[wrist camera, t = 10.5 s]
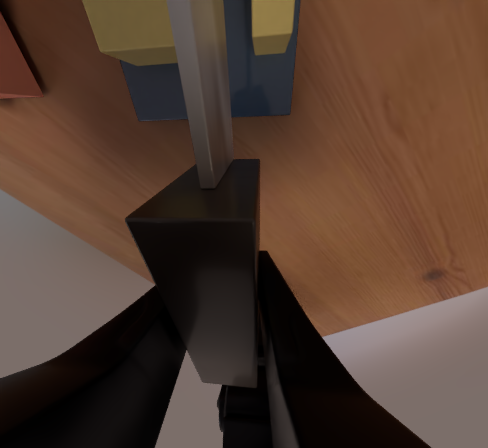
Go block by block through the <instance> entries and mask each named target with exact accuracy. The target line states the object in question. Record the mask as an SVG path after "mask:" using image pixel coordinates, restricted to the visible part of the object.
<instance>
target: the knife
mask: <svg viewBox="0 0 488 448" xmlns="http://www.w3.org/2000/svg"><path fill="white" fill-rule="evenodd" d="M166 1H167V6H168V12H169V17H170V23H171V28H172V34H173V39H174V45H175V50H176V56H177V61H178V66H179V72H180V77H181V83H182V88H183V94H184V99H185V105H186V110H187V116H188V121H189V127H190V132H191V137H192V143H193V148H194V154H195V159H196V164H195V165H194V166H193V167H191V168H190V169H189V170H187V171H186V172H185V173H183V174H182V175H181V176H180V177H178V178H177V179H176V180H174V181H173V182H172V183H170V184H169V185H168V186H166V187H165V188H164V189H163V190H161V191H160V192H159V193H157V194H156V195H155V196H153V197H152V198H151V199H149V200H148V201H147V202H146V203H144V204H143V205H142V206H140V207H139V208H138V209H136V210H135V211H134V212H132V213H131V214H130V215H128V216H127V217H126V218H125V222H126V224H127V226H128V228H129V231H130V233H131V235H132V237H133V239H134V241H135V243H136V245H137V247H138V249H139V251H140V253H141V256H142V258H143V260H144V262H145V264H146V266H147V268H148V270H149V272H150V274H151V276H152V278H153V281H154V283H155V285H156V287H157V289H158V291H159V293H160V295H161V297H162V299H163V301H164V303H165V306H166V308H167V310H168V312H169V314H170V316H171V318H172V320H173V322H174V324H175V326H176V328H177V330H178V333H179V335H180V337H181V339H182V341H183V343H184V345H185V347H186V349H187V351H188V353H189V355H190V358H191V360H192V362H193V364H194V366H195V368H196V370H197V372H198V374H199V376H200V378H201V380H202V382H204V383H213V384H222V385H231V386H240V387H250V388H257V367H258V321H259V300H258V283H259V248H260V159H234V149H233V135H232V120H231V105H230V91H229V76H228V62H227V47H226V33H225V18H224V3H223V0H166Z"/></svg>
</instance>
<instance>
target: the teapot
mask: <svg viewBox="0 0 488 448" xmlns="http://www.w3.org/2000/svg"><path fill="white" fill-rule="evenodd" d="M26 97H44V96H43V94H42V92H41V90H40V88H39V86H38V84H37V82H36V80H35V78H34V76H33V74H32V72H31V70H30V69H29V67H28V65H27V63H26V61H25V59H24V57H23V55H22V53H21V51H20V49H19V47H18V45H17V43H16V41H15V39H14V38H13V36H12V34H11V32H10V30H9V28H8V26H7V24H6V22H5V20H4V18H3V16H2V14H1V12H0V99H4V98H26Z"/></svg>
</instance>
